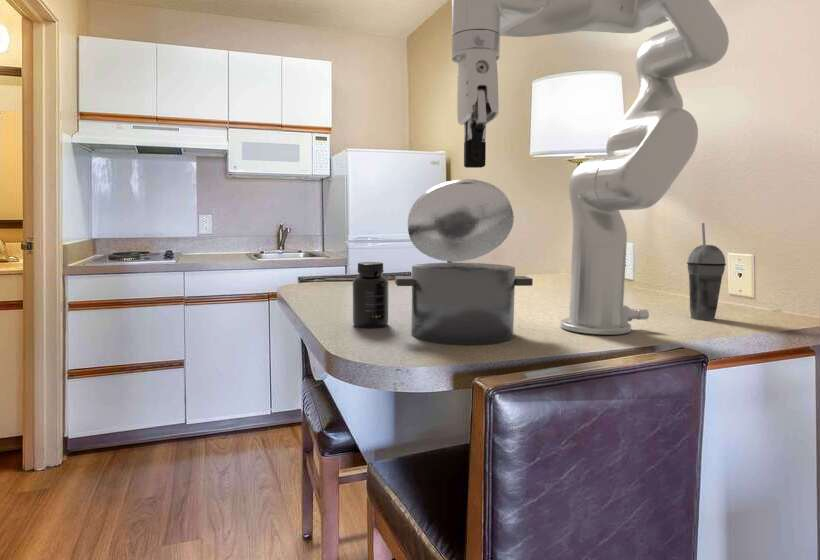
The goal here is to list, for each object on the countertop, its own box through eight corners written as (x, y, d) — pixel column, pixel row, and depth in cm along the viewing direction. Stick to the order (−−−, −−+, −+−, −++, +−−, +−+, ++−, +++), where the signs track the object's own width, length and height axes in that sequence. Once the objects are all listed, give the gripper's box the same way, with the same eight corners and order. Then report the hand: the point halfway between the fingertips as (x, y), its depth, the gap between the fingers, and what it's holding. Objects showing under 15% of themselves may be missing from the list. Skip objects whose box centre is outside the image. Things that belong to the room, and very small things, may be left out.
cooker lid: (501, 261, 108) (499, 251, 110) (524, 185, 93) (521, 175, 95) (404, 261, 106) (403, 251, 108) (412, 184, 92) (411, 173, 93)
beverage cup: (729, 321, 113) (736, 223, 111) (693, 321, 113) (700, 223, 111) (710, 315, 121) (717, 223, 118) (677, 315, 121) (682, 222, 118)
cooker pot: (512, 323, 109) (514, 262, 108) (543, 344, 91) (545, 271, 90) (392, 324, 107) (392, 262, 105) (399, 346, 89) (400, 271, 87)
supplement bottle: (348, 323, 108) (347, 261, 107) (381, 321, 111) (381, 261, 109) (359, 329, 102) (359, 264, 100) (393, 327, 104) (394, 263, 103)
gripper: (511, 34, 81) (509, 162, 83) (487, 62, 96) (486, 170, 98) (461, 33, 80) (460, 162, 82) (444, 61, 95) (444, 170, 97)
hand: (474, 166), depth 90 cm, fingers closed
